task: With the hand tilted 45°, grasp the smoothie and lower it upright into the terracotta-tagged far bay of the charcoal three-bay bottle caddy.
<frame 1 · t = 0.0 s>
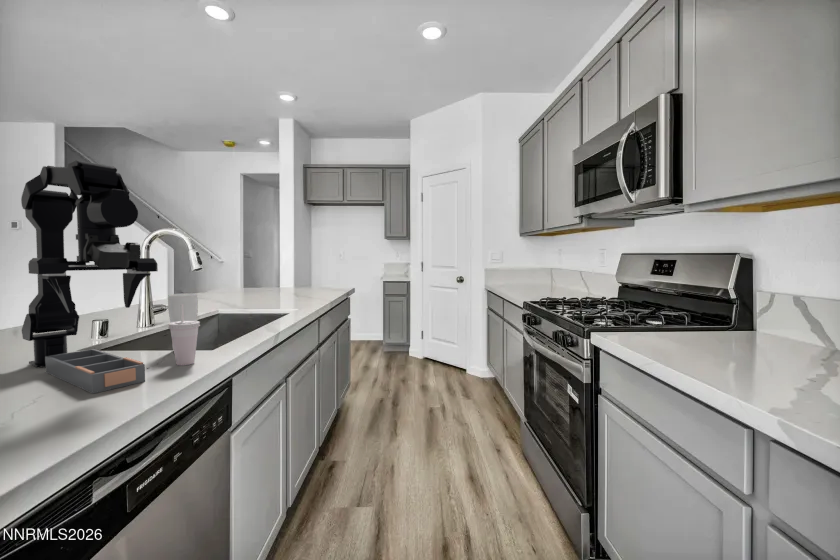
hand: (100, 309, 78), 15 cm above the counter, tool pointing down, fingers open, 9 cm apart
smoothie: (185, 364, 94), on the counter
bottle caddy: (93, 376, 83), on the counter
drinking glass: (184, 350, 107), on the counter
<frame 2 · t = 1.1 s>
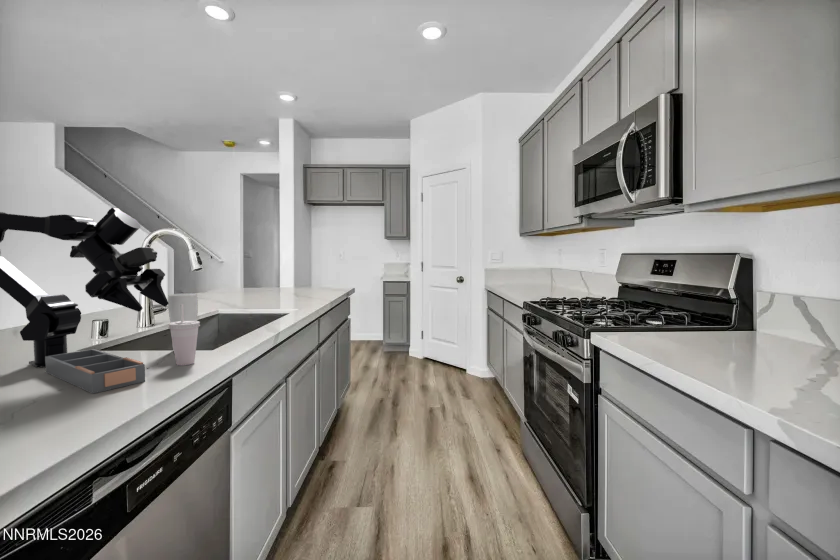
hand: (154, 307, 93), 13 cm above the counter, tool tilted 45°, fingers open, 9 cm apart
nothing on the counter moved.
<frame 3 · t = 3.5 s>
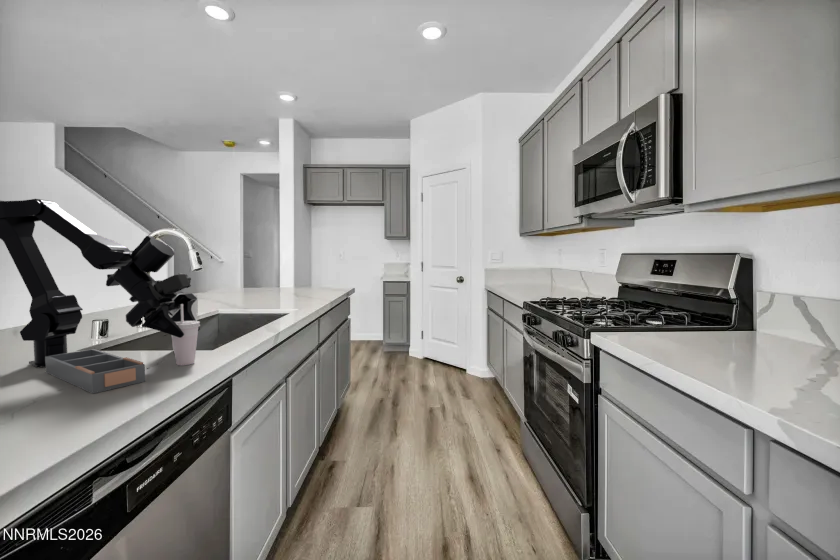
hand: (190, 333, 94), 7 cm above the counter, tool tilted 45°, fingers closed on smoothie, 6 cm apart
smoothie: (185, 364, 94), on the counter, touching gripper
everything else where it was.
when the fingers open (9 cm above the counter, at t = 8.1 s): smoothie drops 1 cm, resting on bottle caddy.
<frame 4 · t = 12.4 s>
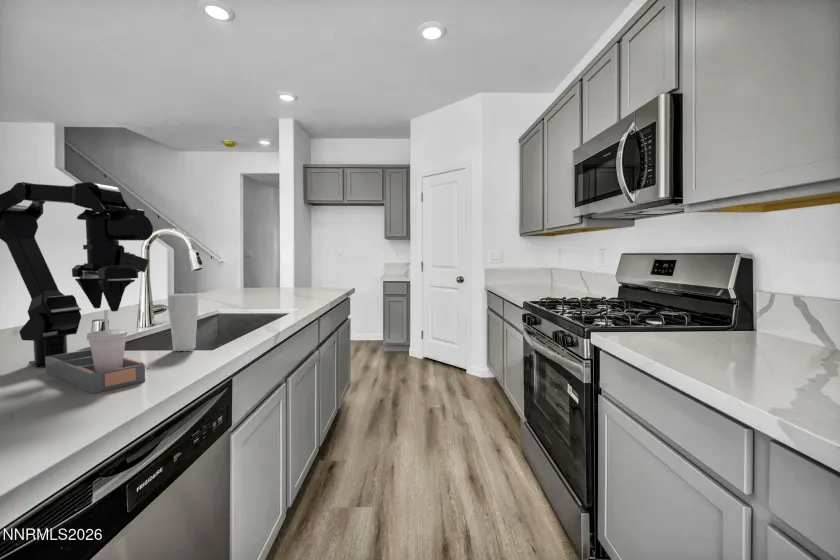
hand: (105, 309, 90), 13 cm above the counter, tool pointing down, fingers open, 9 cm apart
smoothie: (109, 381, 79), resting on bottle caddy
everything else where it was.
at the end: smoothie 0.3 cm from the target spot on the bottle caddy, point 0.3 cm above the bottle caddy's base; smoothie tilted 0°; the gripper is holding nothing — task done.
